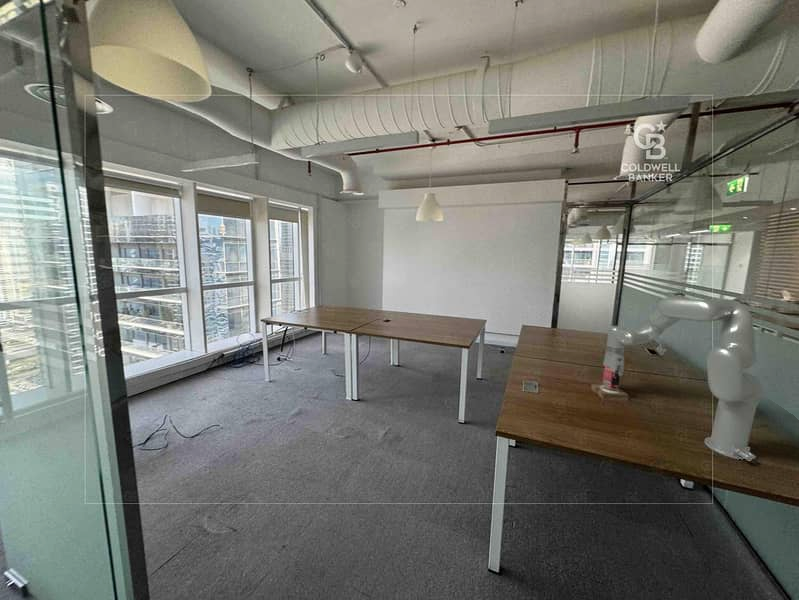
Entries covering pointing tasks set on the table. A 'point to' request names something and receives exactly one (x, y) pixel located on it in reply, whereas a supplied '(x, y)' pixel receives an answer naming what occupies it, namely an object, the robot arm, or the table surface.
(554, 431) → the table surface
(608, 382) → the soda can
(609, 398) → the base
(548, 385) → the table surface
